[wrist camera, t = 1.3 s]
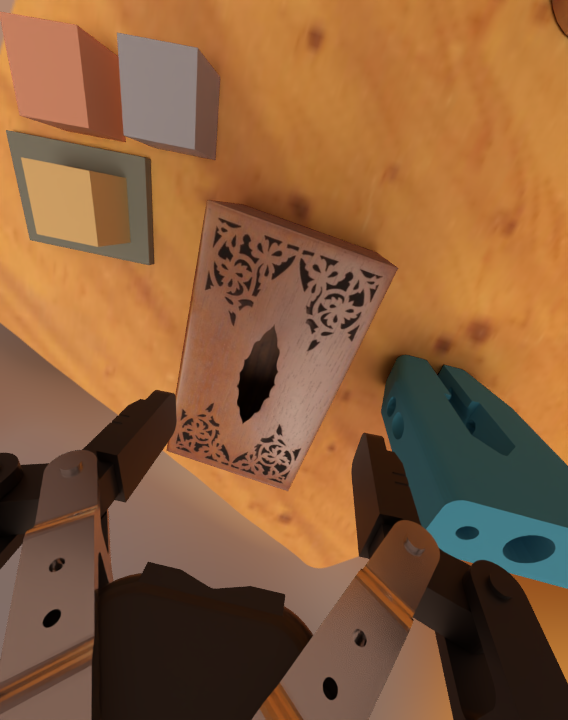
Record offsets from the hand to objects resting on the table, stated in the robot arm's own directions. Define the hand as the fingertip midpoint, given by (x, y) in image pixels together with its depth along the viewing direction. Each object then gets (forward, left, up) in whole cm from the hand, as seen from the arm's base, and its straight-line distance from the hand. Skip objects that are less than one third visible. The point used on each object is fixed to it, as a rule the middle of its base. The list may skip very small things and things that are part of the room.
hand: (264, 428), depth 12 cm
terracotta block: (-14, -23, -23) cm, 35 cm away
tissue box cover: (+6, -2, -23) cm, 24 cm away
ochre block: (-5, -22, -22) cm, 32 cm away
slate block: (-14, -14, -23) cm, 30 cm away
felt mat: (-5, -24, -23) cm, 34 cm away
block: (+7, +17, -23) cm, 29 cm away
